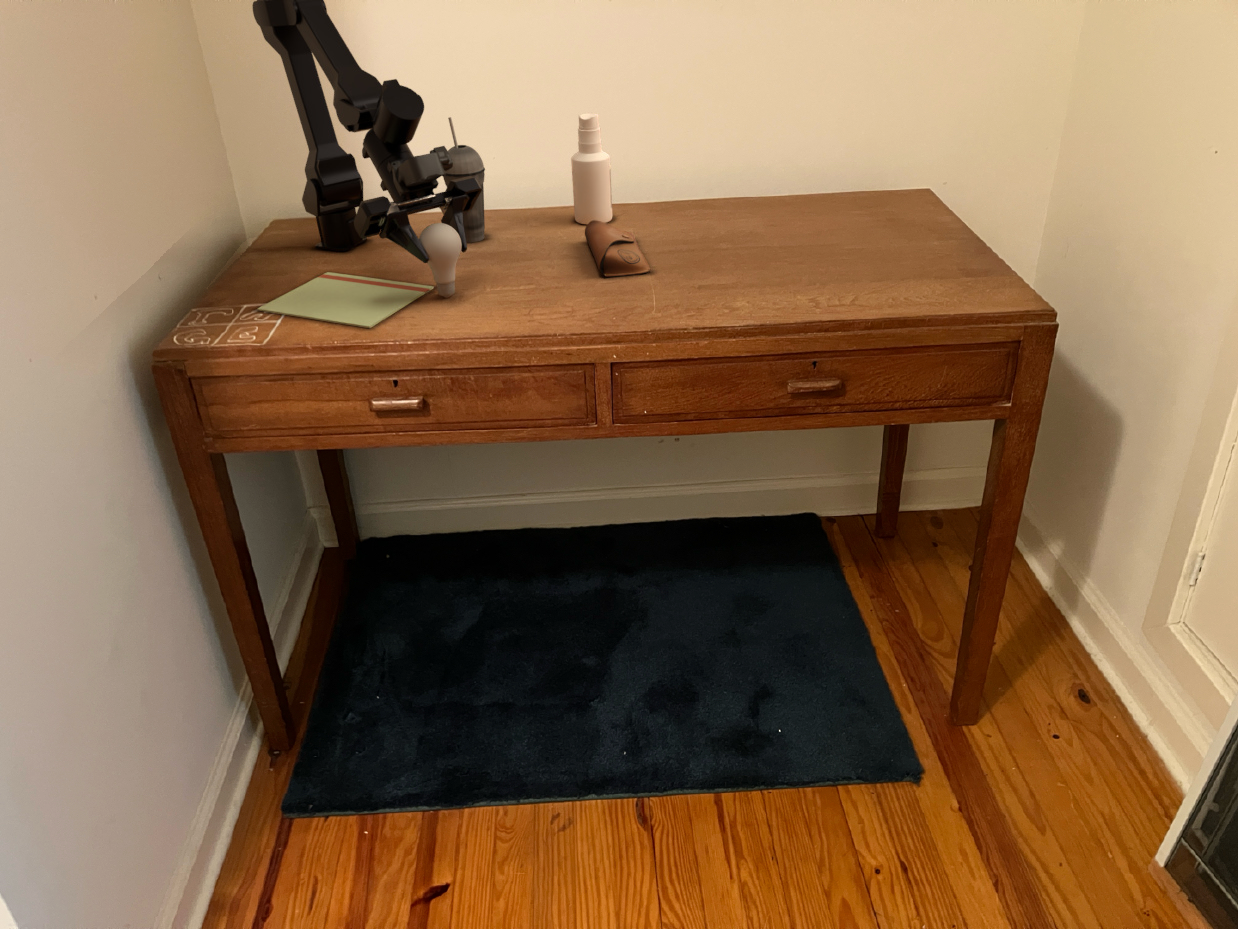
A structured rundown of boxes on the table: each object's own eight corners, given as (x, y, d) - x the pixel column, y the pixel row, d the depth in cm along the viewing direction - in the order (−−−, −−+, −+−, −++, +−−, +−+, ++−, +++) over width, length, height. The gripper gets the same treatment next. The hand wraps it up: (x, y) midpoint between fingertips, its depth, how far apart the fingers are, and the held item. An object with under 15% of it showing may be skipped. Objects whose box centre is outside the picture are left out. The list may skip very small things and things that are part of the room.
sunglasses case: (654, 269, 140) (631, 234, 137) (616, 295, 142) (593, 261, 138) (633, 234, 155) (612, 202, 152) (599, 257, 157) (577, 226, 153)
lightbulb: (428, 290, 138) (417, 218, 132) (469, 288, 138) (460, 216, 132) (424, 306, 132) (413, 231, 127) (466, 303, 133) (457, 229, 127)
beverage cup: (484, 245, 155) (470, 122, 144) (444, 244, 156) (427, 121, 145) (498, 232, 161) (485, 112, 150) (458, 230, 162) (443, 112, 151)
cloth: (257, 310, 133) (257, 308, 133) (328, 273, 146) (327, 271, 145) (369, 328, 126) (369, 326, 126) (433, 288, 139) (433, 286, 138)
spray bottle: (617, 215, 167) (614, 111, 157) (605, 226, 161) (600, 119, 152) (582, 212, 169) (577, 110, 159) (569, 223, 163) (562, 118, 154)
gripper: (347, 141, 120) (401, 241, 119) (467, 118, 130) (518, 210, 129) (332, 190, 130) (383, 283, 128) (445, 165, 140) (493, 251, 138)
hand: (446, 256), depth 131 cm, fingers closed on lightbulb, 6 cm apart
